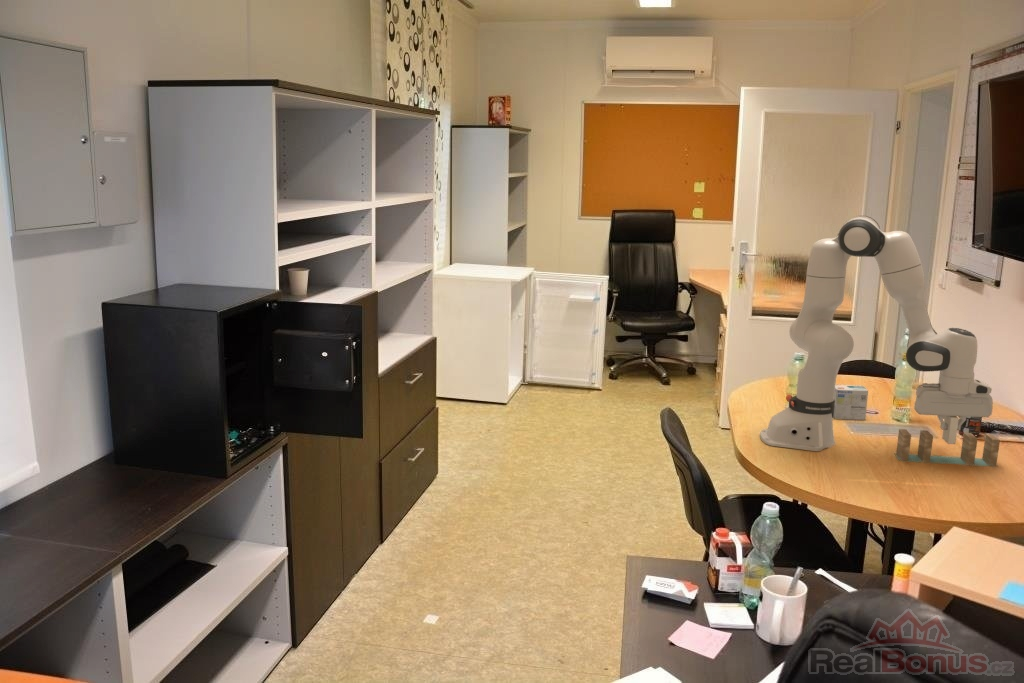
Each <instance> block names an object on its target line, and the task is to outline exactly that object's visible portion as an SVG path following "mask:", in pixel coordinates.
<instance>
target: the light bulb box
mask: <svg viewBox="0 0 1024 683" xmlns="http://www.w3.org/2000/svg"><path fill="white" fill-rule="evenodd" d="M868 396H869V389H868V388H866V387H865V386H863V385H861V384H859V385H851V384H835V392H834V400H835V412H834V417H833V419H834V420H855V421H856V420H857V421H866V419H867V418H866V417H867V408H868V407H867V406H868Z"/></svg>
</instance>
